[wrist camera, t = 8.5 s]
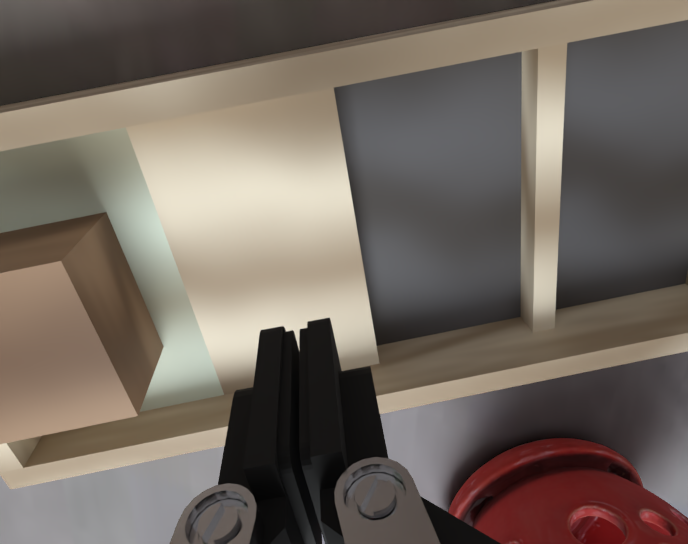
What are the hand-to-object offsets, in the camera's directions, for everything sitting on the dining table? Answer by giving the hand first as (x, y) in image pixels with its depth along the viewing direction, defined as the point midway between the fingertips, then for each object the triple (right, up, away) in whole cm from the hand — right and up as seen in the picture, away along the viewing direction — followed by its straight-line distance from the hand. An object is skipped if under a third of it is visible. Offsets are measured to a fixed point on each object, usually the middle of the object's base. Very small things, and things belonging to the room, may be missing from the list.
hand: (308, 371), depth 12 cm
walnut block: (-10, +1, +7) cm, 12 cm away
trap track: (+1, +4, +8) cm, 10 cm away
